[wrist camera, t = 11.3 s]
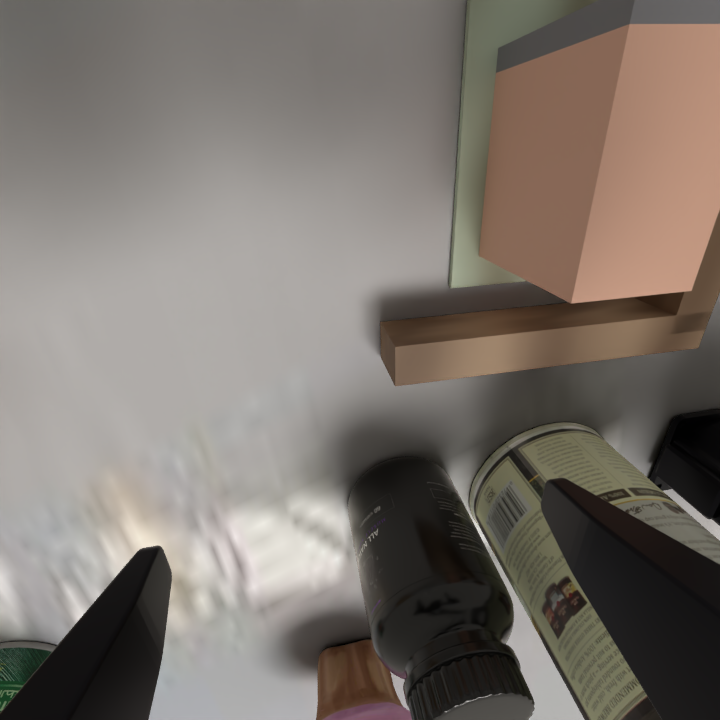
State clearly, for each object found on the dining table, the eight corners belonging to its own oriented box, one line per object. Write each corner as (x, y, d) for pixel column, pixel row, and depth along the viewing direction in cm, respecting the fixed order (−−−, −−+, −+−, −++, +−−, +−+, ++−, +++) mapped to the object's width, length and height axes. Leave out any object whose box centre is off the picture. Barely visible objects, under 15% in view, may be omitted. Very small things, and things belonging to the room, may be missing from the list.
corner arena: (779, -81, 16) (879, -128, 13) (651, 326, 24) (698, 348, 21) (373, -99, 14) (396, -160, 11) (380, 357, 21) (395, 386, 19)
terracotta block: (564, 248, 20) (691, 290, 14) (478, 256, 19) (571, 303, 13) (602, 47, 16) (797, -17, 10) (498, 48, 16) (638, -20, 10)
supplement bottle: (331, 473, 24) (372, 718, 14) (439, 437, 25) (560, 651, 14) (361, 545, 28) (412, 787, 17) (456, 512, 28) (564, 731, 17)
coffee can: (598, 516, 31) (811, 759, 18) (468, 549, 30) (603, 829, 18) (621, 404, 26) (932, 633, 14) (467, 439, 25) (652, 720, 13)
